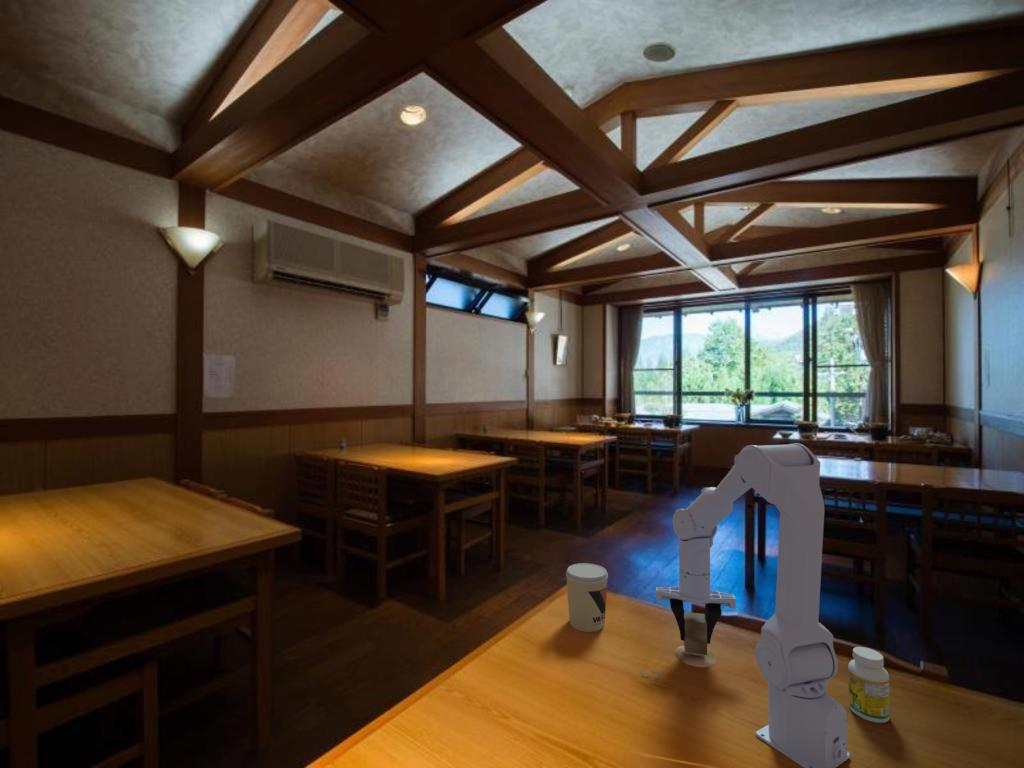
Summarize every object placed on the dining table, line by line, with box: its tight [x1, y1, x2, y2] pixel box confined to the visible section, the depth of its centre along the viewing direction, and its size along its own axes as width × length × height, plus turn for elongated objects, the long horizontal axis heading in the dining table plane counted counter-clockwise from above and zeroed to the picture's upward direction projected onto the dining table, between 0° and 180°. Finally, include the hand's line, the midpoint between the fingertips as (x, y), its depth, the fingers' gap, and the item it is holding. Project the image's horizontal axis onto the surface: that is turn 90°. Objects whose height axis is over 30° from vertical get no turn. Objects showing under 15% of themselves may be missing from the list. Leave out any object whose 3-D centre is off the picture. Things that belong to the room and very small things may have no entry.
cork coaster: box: [674, 644, 717, 668], centre depth 94 cm, size 8×8×1 cm
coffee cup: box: [565, 562, 609, 633], centre depth 107 cm, size 9×9×12 cm
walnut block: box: [682, 611, 708, 655], centre depth 94 cm, size 4×4×6 cm
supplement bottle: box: [847, 646, 891, 724], centre depth 78 cm, size 5×5×10 cm
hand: (694, 639), depth 94 cm, fingers closed on walnut block, 4 cm apart
